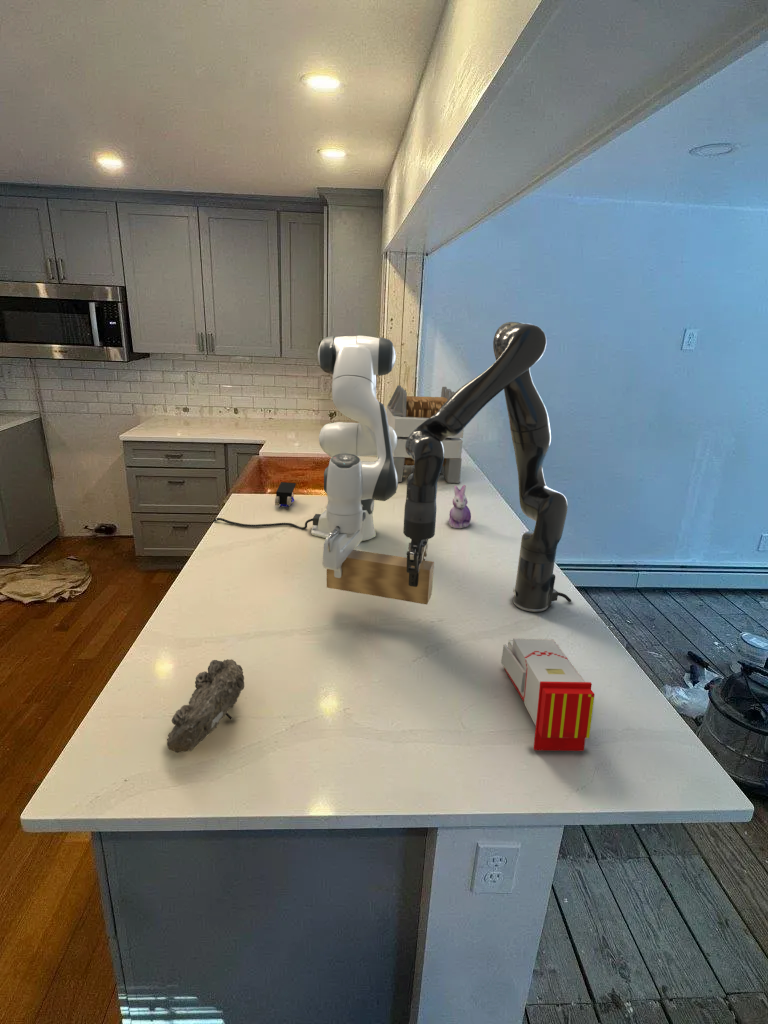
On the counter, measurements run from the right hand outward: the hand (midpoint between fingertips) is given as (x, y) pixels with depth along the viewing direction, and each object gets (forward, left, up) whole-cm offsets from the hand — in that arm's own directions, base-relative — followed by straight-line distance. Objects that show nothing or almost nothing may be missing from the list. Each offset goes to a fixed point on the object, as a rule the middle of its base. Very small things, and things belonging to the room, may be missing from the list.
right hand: (415, 580), depth 140 cm
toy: (-12, +36, -12) cm, 40 cm away
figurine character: (+14, -96, -12) cm, 97 cm away
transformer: (-57, -128, -12) cm, 140 cm away
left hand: (+15, -11, -1) cm, 19 cm away
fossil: (+51, +21, -12) cm, 56 cm away
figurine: (-44, -60, -12) cm, 75 cm away
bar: (+8, -5, -5) cm, 10 cm away
